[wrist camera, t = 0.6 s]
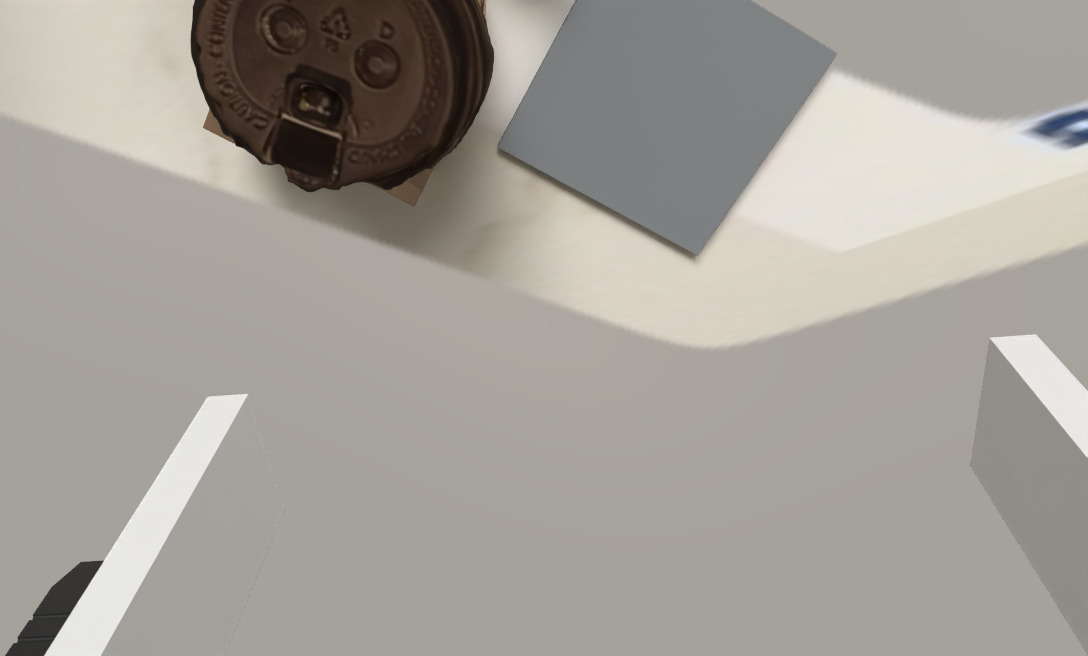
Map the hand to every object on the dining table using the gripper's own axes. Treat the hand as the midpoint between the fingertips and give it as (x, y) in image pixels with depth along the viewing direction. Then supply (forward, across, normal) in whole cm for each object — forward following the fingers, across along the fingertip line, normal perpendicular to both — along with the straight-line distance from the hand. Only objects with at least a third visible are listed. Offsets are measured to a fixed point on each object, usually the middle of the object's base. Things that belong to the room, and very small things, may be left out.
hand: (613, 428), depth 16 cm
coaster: (+24, +3, -1) cm, 24 cm away
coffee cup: (+25, -7, +4) cm, 26 cm away
